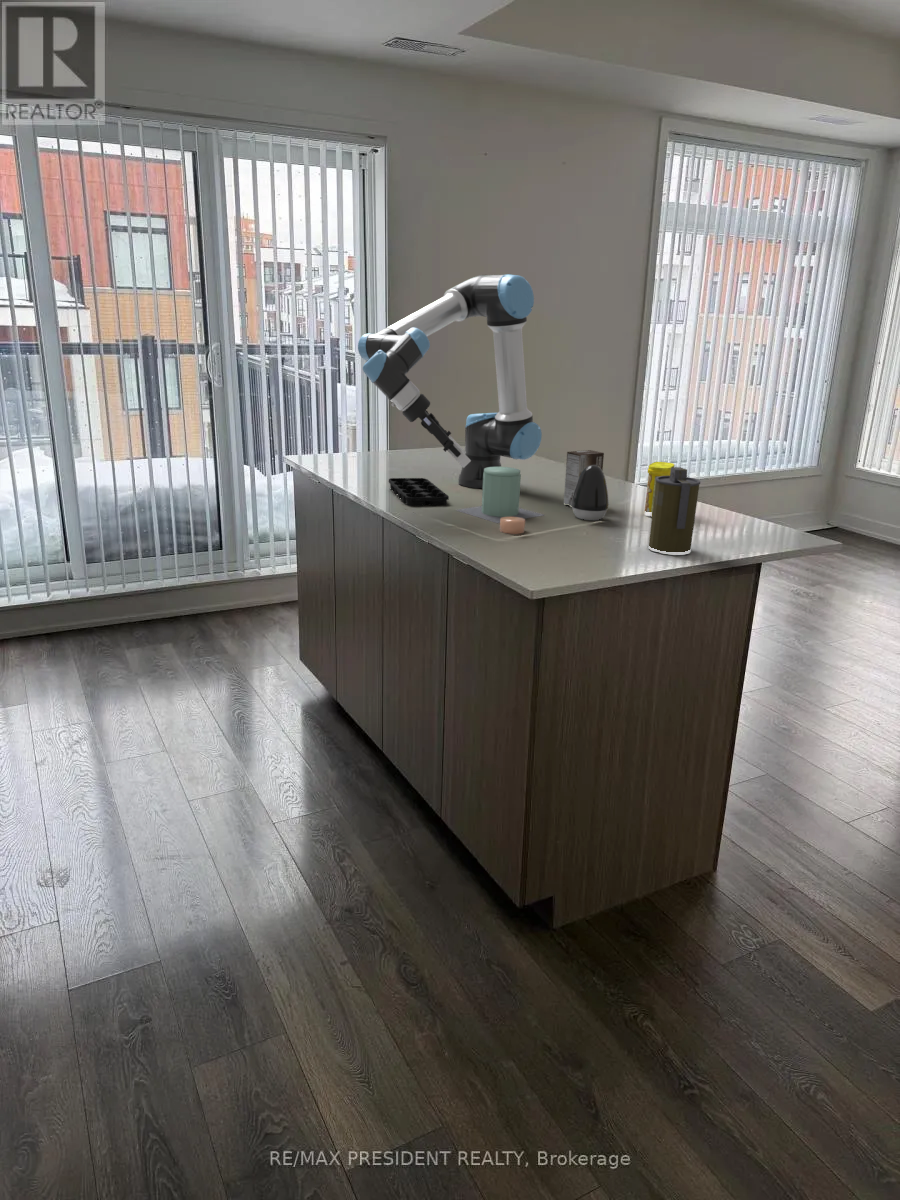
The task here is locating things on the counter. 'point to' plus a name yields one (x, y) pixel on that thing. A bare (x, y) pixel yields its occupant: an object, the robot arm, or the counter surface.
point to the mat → (478, 513)
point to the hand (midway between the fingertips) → (464, 459)
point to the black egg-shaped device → (590, 494)
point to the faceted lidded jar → (501, 491)
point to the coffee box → (579, 469)
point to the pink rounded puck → (512, 525)
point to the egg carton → (418, 491)
